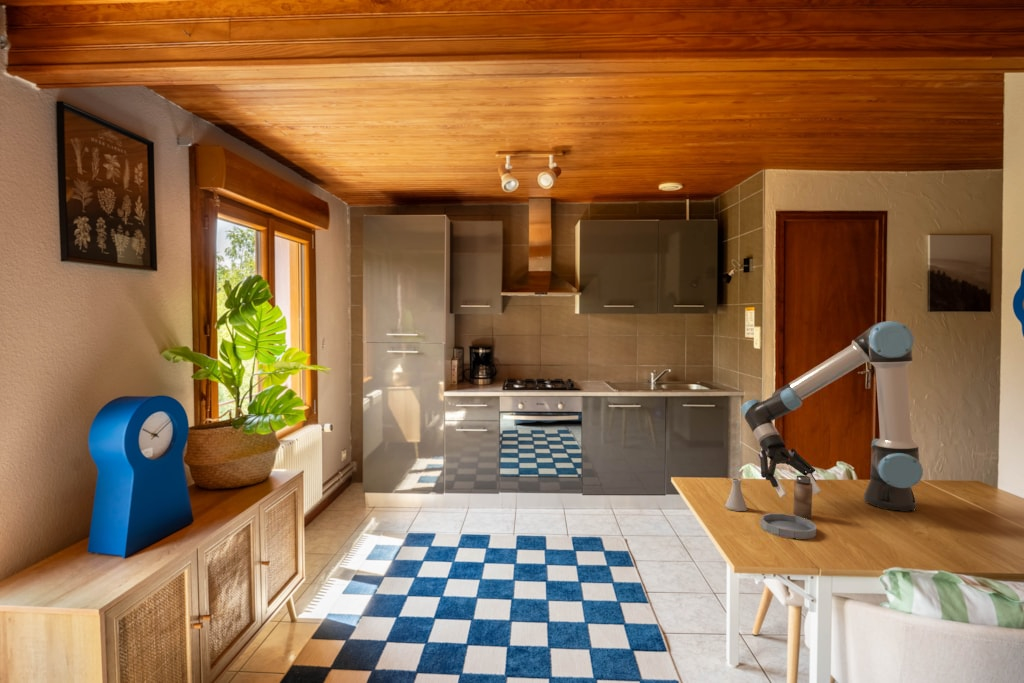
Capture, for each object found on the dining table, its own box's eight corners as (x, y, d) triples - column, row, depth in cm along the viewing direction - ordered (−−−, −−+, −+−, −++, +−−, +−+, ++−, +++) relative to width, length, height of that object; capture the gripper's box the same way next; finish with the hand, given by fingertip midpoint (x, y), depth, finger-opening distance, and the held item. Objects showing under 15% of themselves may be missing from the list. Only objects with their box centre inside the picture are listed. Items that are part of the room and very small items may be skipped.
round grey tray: (799, 521, 172) (799, 513, 172) (826, 539, 157) (827, 531, 157) (752, 520, 172) (752, 513, 172) (775, 539, 157) (775, 531, 157)
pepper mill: (805, 513, 179) (807, 475, 178) (814, 519, 174) (816, 479, 173) (790, 513, 179) (791, 474, 178) (798, 519, 174) (800, 479, 173)
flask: (749, 512, 179) (750, 483, 179) (726, 511, 180) (727, 481, 180) (744, 505, 186) (745, 477, 186) (722, 504, 187) (723, 475, 187)
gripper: (792, 443, 196) (824, 497, 182) (734, 446, 190) (762, 502, 176) (804, 432, 191) (838, 486, 177) (744, 434, 184) (775, 491, 170)
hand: (800, 494), depth 176 cm, fingers open, 13 cm apart
